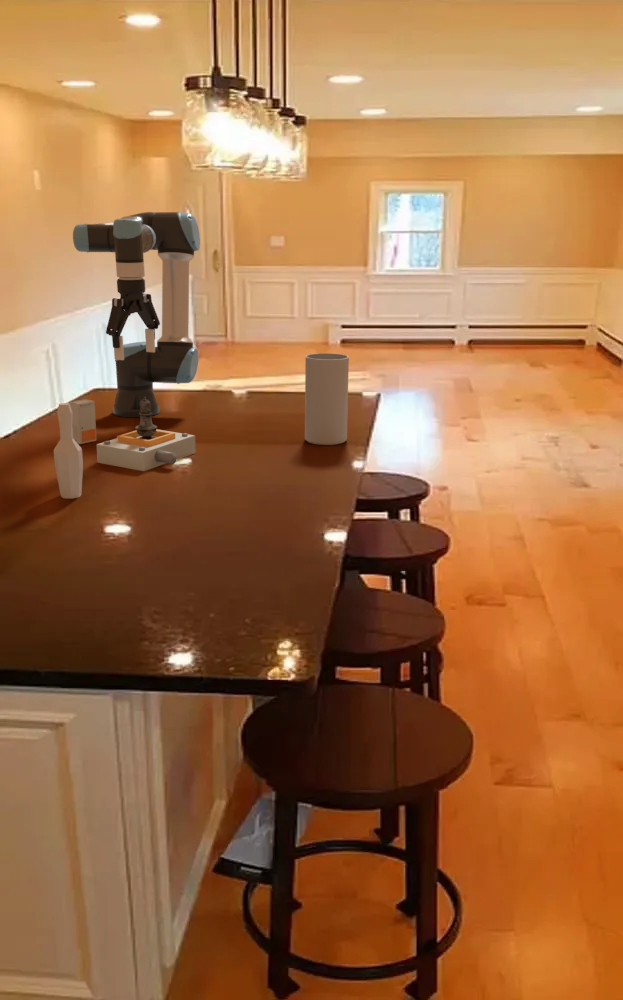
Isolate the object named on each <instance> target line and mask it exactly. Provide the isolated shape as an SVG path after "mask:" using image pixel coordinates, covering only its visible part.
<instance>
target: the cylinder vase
mask: <svg viewBox="0 0 623 1000" xmlns="http://www.w3.org/2000/svg"><path fill="white" fill-rule="evenodd" d="M349 359H350V356H349V355H346V354H343V353H342V354H341V353H331V352H329V353H328V352H323V353H322V352H318V353H310V354H306V355H305V365H304V366H305V373H304V375H305V379H304V381H305V384H304V398H305V399H304V439H305V441H307V443H309V444H313V445H316V446H317V445H319V446H320V445H321V446H335V445H340V444H343V443H345V442H346V441H347V439H348V407H349V405H348V404H349V372H350V371H349V367H350V363H349V362H350V360H349Z"/></svg>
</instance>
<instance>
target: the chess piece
mask: <svg viewBox="0 0 623 1000" xmlns="http://www.w3.org/2000/svg"><path fill="white" fill-rule="evenodd" d="M139 414H140V417H139V418H140V420H139V424H138V425H136V426H135V427H134V429H135V430H137V433H138V434H139V435H140V436H142V437H140V439H145V440H150V439H154V438H155V437H152V436H153V435H154V434H155V432H156V429H158V426H157V425H156V424H153V421H152V419H153V418H152V416H151V414H152V412H151V404H150V401H149V400H147V399H146V397H145V396H144V399H143V400H142V401H140V413H139Z"/></svg>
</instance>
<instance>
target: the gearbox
mask: <svg viewBox="0 0 623 1000" xmlns="http://www.w3.org/2000/svg"><path fill="white" fill-rule="evenodd" d="M140 437H142V436H140V435H139V434H138V433H137V429H135V430H133V431H132V430H131V431H130V432H126V433H122V434H119V435H117V436H116V438H114V439H111V440H105V441H103V442H101V443H97V444H96V445H95V446H96V457H97V463H98V464H99V463H100V464H102V465H108V466H114V467H120V468H124V469H125V468H126V469H129V470H130V469H131V470H136V471H140V472H146V471H149V470H152V469H155V468H157V467H159V466H163V465H166V464H170V465H175V464H176V462H177V461H178V460H179V459H181V458H185V457H187V456H191V455H193V454H196V452H197V451H196V435H193V434H189V433H186V432H184V433H181V432H175V431H168V430H163V429H158V428H156V432H155V434H154V435H153V436H152V437H155V438H154V439H150V440H145V439H140Z"/></svg>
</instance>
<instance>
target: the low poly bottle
mask: <svg viewBox="0 0 623 1000" xmlns="http://www.w3.org/2000/svg"><path fill="white" fill-rule="evenodd" d="M56 415H57V419H58V426H59V438H60V439H59V441H58V442H57V444H56V445H55V447H54V449H53V458H54V470H55V473H56V474H55V476H56V479H57V483H58V488H59V493H60V497H61V498H63V499H76V498H77V499H78V498H80V497H81V496H82V489H83V475H84V473H83V472H84V462H83V460H84V459H83V449H82V447H81V446H80V444H78V443H77V442H76V441H75V440H74V439H73V427H72V420H73V412H72V409H71V407H70V404H69V402H61V403H58V407H57V411H56Z"/></svg>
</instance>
